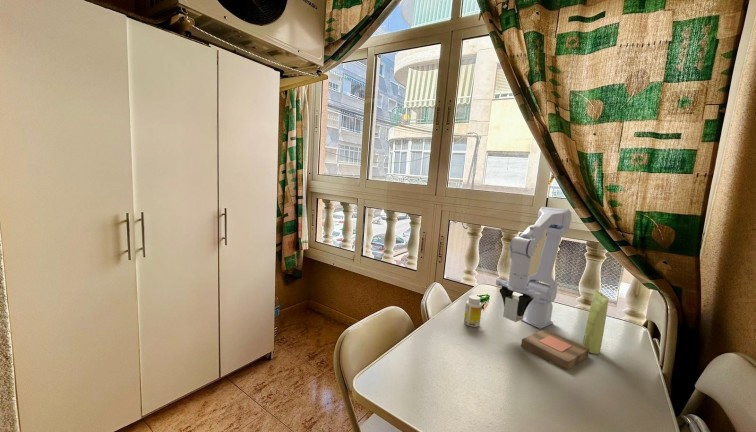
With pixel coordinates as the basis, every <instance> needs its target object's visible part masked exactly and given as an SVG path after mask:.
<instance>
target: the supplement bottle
mask: <svg viewBox="0 0 756 432" xmlns="http://www.w3.org/2000/svg"><path fill="white" fill-rule="evenodd" d="M482 308H483V304H482V302H481V297H480V296H478V295H473V294H471V295H469V296H468V300H467V301H465V307H464V309H465V310H464V318H463V319H464V320H463V323H464V324H465V325H466V326H468V327H472V328H477V327H479V326H480V325H481V317H482Z"/></svg>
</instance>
